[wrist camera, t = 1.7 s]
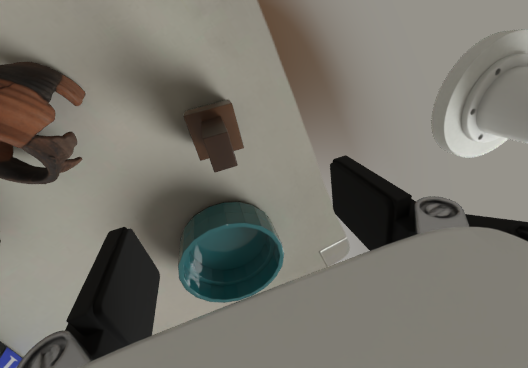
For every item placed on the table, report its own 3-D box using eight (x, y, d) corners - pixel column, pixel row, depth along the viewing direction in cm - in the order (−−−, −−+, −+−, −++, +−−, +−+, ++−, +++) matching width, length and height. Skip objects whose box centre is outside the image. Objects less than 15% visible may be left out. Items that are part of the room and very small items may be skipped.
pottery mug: (121, 107, 25) (89, 169, 20) (76, 142, 29) (40, 201, 24) (-44, -14, 16) (-164, 44, 12) (-75, 59, 21) (-174, 124, 16)
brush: (227, 97, 27) (242, 115, 18) (238, 137, 29) (256, 170, 20) (184, 108, 26) (179, 132, 17) (199, 148, 28) (201, 186, 20)
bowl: (262, 187, 33) (273, 208, 28) (279, 255, 40) (290, 281, 35) (165, 218, 31) (159, 246, 27) (199, 283, 38) (200, 314, 34)
